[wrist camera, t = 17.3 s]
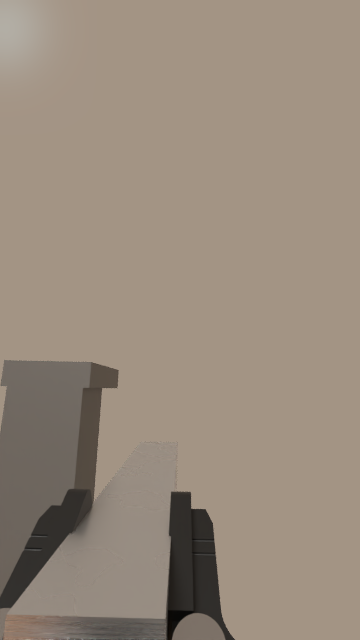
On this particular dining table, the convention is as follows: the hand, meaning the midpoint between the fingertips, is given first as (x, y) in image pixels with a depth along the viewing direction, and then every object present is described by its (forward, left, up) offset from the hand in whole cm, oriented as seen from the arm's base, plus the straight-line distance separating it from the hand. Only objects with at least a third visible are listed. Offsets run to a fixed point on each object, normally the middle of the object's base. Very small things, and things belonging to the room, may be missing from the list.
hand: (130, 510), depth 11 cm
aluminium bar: (-3, +3, -3) cm, 5 cm away
